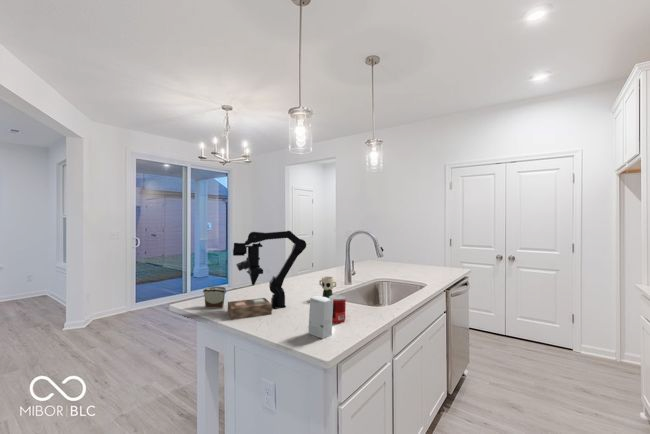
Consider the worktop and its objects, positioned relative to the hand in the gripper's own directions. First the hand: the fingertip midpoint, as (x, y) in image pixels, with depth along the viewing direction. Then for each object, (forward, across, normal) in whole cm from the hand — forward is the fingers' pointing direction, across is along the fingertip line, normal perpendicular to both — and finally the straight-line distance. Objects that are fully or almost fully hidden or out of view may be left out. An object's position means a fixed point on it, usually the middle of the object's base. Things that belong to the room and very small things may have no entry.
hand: (253, 285), depth 157 cm
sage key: (+10, +8, +1) cm, 13 cm away
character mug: (+12, +2, +43) cm, 45 cm away
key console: (+12, +8, -3) cm, 15 cm away
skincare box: (+12, +48, +17) cm, 52 cm away
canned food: (+12, +36, +31) cm, 49 cm away
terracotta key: (+10, +8, -8) cm, 15 cm away
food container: (+12, -11, -17) cm, 24 cm away
